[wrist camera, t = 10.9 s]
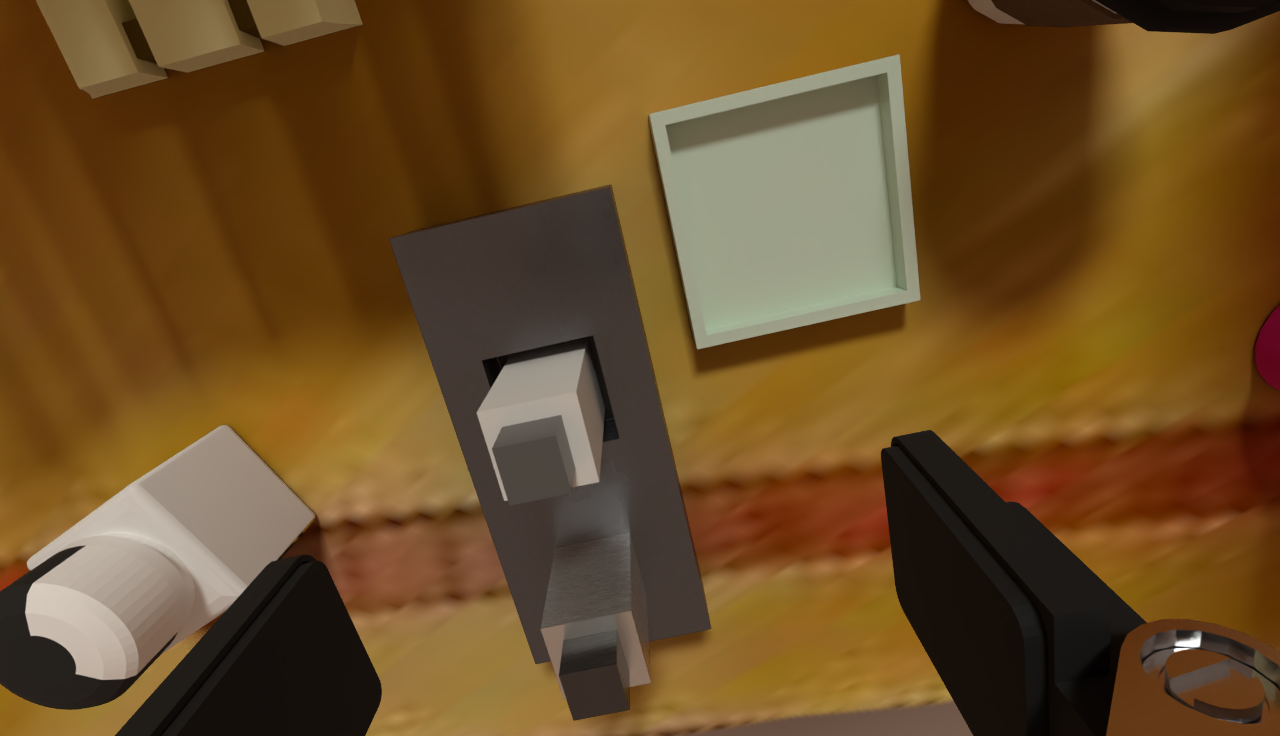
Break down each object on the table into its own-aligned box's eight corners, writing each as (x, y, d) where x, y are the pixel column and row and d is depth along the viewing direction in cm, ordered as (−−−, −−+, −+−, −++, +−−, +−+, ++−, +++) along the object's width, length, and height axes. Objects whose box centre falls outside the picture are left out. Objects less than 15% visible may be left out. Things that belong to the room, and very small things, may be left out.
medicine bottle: (229, 576, 37) (53, 761, 26) (135, 488, 35) (-101, 644, 24) (320, 515, 36) (178, 679, 24) (227, 420, 34) (27, 550, 23)
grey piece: (414, 230, 31) (300, 267, 20) (611, 184, 31) (604, 196, 20) (543, 620, 38) (511, 802, 28) (703, 588, 38) (735, 760, 27)
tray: (647, 116, 30) (649, 114, 28) (883, 60, 29) (899, 54, 28) (693, 339, 33) (697, 349, 31) (905, 293, 33) (920, 300, 31)
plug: (511, 353, 32) (464, 433, 23) (587, 337, 32) (572, 411, 23) (531, 424, 33) (494, 527, 24) (604, 409, 33) (597, 507, 24)
